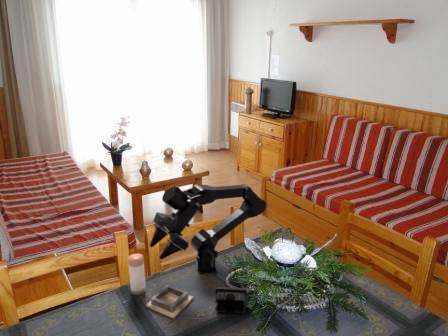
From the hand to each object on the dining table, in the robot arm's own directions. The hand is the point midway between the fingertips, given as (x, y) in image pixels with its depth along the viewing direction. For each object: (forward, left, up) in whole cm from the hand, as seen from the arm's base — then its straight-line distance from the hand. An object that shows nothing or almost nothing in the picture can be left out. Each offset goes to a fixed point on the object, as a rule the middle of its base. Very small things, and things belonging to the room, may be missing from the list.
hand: (155, 252), depth 130 cm
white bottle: (+7, +1, -13) cm, 15 cm away
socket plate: (-2, +11, -13) cm, 17 cm away
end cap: (-20, +20, -13) cm, 32 cm away
